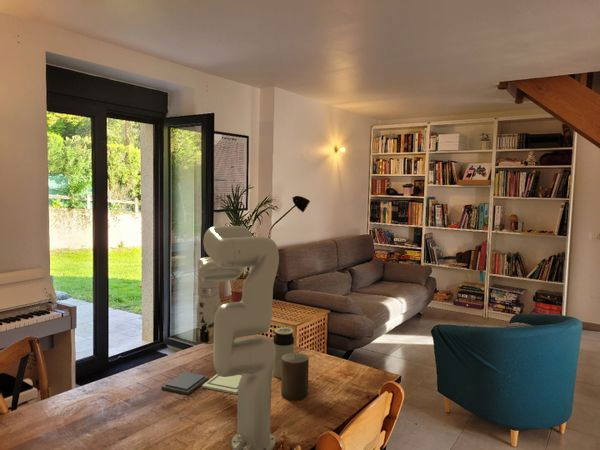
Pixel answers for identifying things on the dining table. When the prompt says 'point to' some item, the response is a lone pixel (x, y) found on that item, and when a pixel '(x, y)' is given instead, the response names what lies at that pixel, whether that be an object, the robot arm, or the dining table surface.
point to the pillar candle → (294, 376)
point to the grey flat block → (185, 383)
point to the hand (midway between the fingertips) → (208, 338)
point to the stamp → (211, 334)
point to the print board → (223, 383)
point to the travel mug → (282, 347)
